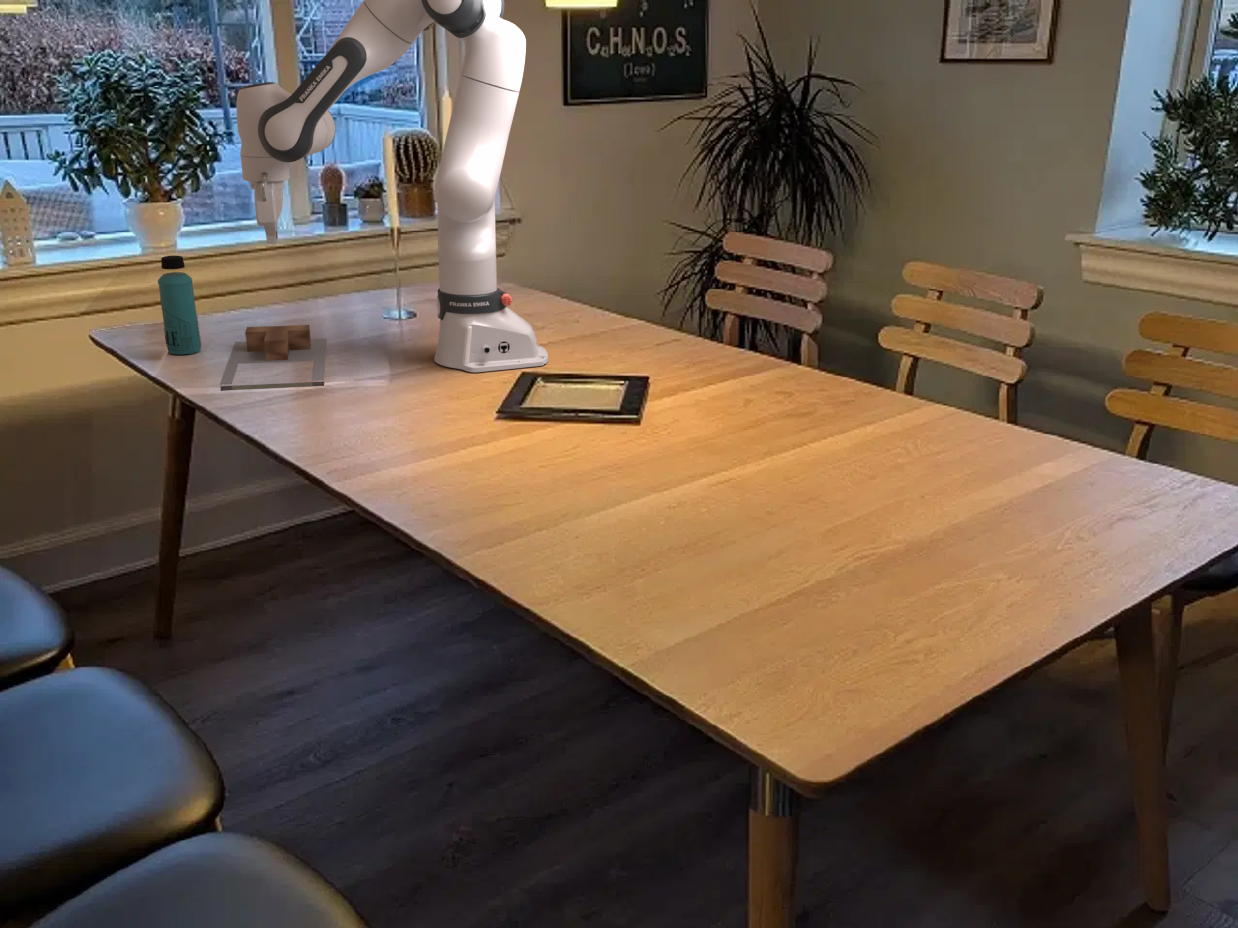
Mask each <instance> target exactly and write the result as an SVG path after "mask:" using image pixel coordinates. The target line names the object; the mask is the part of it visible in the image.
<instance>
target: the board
mask: <svg viewBox="0 0 1238 928" xmlns="http://www.w3.org/2000/svg"><path fill="white" fill-rule="evenodd" d="M326 353H327V338H311V349H309V350H290V351H289V356H288V360H277V361H266V355H265V351H258V352H247V343H246V340H244V341H235V342H234V344H233V347H232V350H231V354H230V355H229V358H228V360H227V361H228V362H227V364H226V366H225V369H224V372H223V376H222V378H221V381H220V384H219V385H220V386H219V387H220V391H221V392H222V391H225V392H226V391H240V390H241V391H243V390H245V391H246V390H264V389H267V390H269V389H286V388H309V387H311V388H313V387H325V381H324V379H325V378H324V377H325V364H326V356H327V355H326ZM312 361H313V369H312V371H313V372H312V379H311V380H312V381H307V382H305V381H304V382H288V383H287V382H286V383H284V382H283V383H264V384H263V383H262V384H261V383H260V384H240V385H237V384H236V385H232V384H233V382H234V378H235V375H236V372H237V369H238V366H239V364H243V365H244V364H263V363H265V364H266V363H267V364H268V363H286V362H287V363H288V362H289V363H290V362H312Z"/></svg>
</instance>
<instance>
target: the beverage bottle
mask: <svg viewBox="0 0 1238 928" xmlns="http://www.w3.org/2000/svg"><path fill="white" fill-rule="evenodd" d="M185 267H186V266H185V261H184V257H183V256H181V255H166V256H162V257H161V269H163V270H180V269H184V268H185ZM157 284H158V288H159V289H158V290H159V296H160V297H159V299H160V301H159V302H160V308H161V312H162V317H163V318H162V319H163V333H164V340H165V344H166V349H167V352H168V353H169V354H172V355H190V354H195V353H198V352H200V351H201V350H202V349H201V348H202V340H201V334H200V333H201V331H200V326H199V319H198V311H197V308H196V302H195V301H196V300H195V292H194V285H193V278H192V277H191V275H188V273H186V272H184V271H183V272H179V271H171V272H166V273H163V274H162V275H161V276H160V277H159V278H158V279H157Z"/></svg>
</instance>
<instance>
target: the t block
mask: <svg viewBox="0 0 1238 928" xmlns="http://www.w3.org/2000/svg"><path fill="white" fill-rule="evenodd" d="M311 339H312V337H311V329H310V324H299V325H298V324H294V325H291V324H290V325H272V326H271V325H270V326H269V325H267V326H266V325H265V326H247V327H246V329H245V341H246V343H247V352H258V351H265V355H266V361H277V360H288V356H289V351H290V350H309V349H311Z"/></svg>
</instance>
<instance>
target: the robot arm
mask: <svg viewBox="0 0 1238 928" xmlns="http://www.w3.org/2000/svg"><path fill="white" fill-rule="evenodd" d="M504 14H505V0H363V1H362V2H361V4H360V5H359V7H357V9H356V11H355V12H354V13H353V15H352V16H351V18H350V20H349V21H348V23H347V24H346V25H345V27H344V28H343V30H342V32H341V33H340V34H339V36H338V38H337V39H335V41H334V43H333V44H332V46H331V48H329V50H328V52H327V53H326V54H325V55H324V56H323V58H321V60H320V61H319V62H318V63H317V65H315V67H314V68H313V69H312V70H311V72H310V73H308V75H307V76H306V77H305V78H304V80H303V81H302V82H301V83H300V84H299V86H298V87H297V88H296V89H295V90H294V91H293V92H292V93H290V92H289V91H287V90H286V89H284V88H283V87H281V85H280V84H278V83H276V82H273V81H267V82H266V81H265V82H260V83H259V82H258V83H253V84H248V85H244V86H243V87H241V88H240V89H239V90H238V93H237V97H236V125H237V133H238V136H239V138H240V145H241V146H240V152H239V153H240V164H241V172H242V173H241V175H242V180H243V181H246V182H249V187H250V189H252V190H254V194H253V195H254V196H253V197H254V207H255V208H254V209H255V218H256V223H257V226H259V227H263V229H264V232H265V237H266V243H267V244H268V245H276V244H277V240H278V238H279V233H278V222H279V219H280V217H281V213H282V210H283V203H284V188H285V183H284V182H285V181H288V180H290V179H291V174H290V164H289V163H294V162H297V161H299V160H301V159H304V157H308V156H311V155H313V154H316V153H320V152H322V151H324V150H325V149H327V148H329V147H330V146H331V145H332V143H333V142H334V139H335V137H336V129H337V128H336V127H337V126H336V123H335V119H334V117H333V115H332V114H331V112H330V109H331V108H332V107H333V106H334V104H335V103H336V102H337V101H338V100H339V99H340V97H341V96H342V95H343V94H344V93H345V91H346V90H348V89H349V88H350V87H351V86H352V85H354V84H355V83H357V82H358V81H361V80H362V79H365V78H367V77H369V76H372V75H374V74H377V73H379V72H381V71H385V70H386V69H388V68H389V67H391V66H392V65H393V64H395V62H397V61H398V60H399V59H400V58H401V57H402V56H403V55H404V54H405V53H406V52H407V51H408V50H409V49H410V47H411V46H412V45H413V44H414V43H415V41H416V40H417V38H418V37H419V36H420V35H421V33H423V31H424V30H425V29H426V28H427V27H428V26H430V25H431V24H433V23H436V24H437V25H438V26H439V27H442V29H444V30H446V31H448V32H449V33H450V34H452V35H453V36H454V37H456V38H458V39H462V40H463V43H464V58H463V63H462V67H461V71H460V75H459V80H458V84H457V88H456V93H455V97H454V102H453V106H452V110H451V114H450V119H449V124H448V128H447V131H446V135H445V136H446V137H445V141H444V145H443V150H442V153H441V158H440V160H439V161H440V162H439V166H438V171H437V174H436V180H435V183H434V198H435V202H436V204H437V240H438V242H437V254H438V256H437V257H438V276H439V278H438V279H439V288H438V289H437V296H436V299H437V301H436V302H437V305H436V306H437V315H438V318H439V327H438V328H439V330H438V338H437V345H436V350H435V354H434V358H433V360H434V362H435V363H437V364H438V365H439V366H443V367H447V368H452V369H458V370H463V371H466V372H468V373H482V372H483V373H484V372H495V371H503V370H512V369H513V370H514V369H523V368H533V367H540V366H541V367H542V366H545V365H546V364H547V363H548V362H549V354H548V352H547V350H546V349H545V348H544V347H543V346H541V345H539V344H538V342H537V337H536V333H535V330H534V328H533V327H532V326H531V324H530V323H529V322H528V321H526V320H525V319H524V318H523V317H521V316H520V315H518V314H517V313H516V312H515V311H513V310H512V309H511V308H509V307H508V306H510V305H511V304H513V299H512V297H511V295H510V294H508V293H507V292H506V291H505V290H503V289H502V288H501V289H500V288H499V287H498V279H497V278H498V277H497V276H498V275H497V271H498V270H497V240H496V239H497V235H496V206H495V205H496V195H497V191H498V186H499V181H500V177H501V173H502V168H503V164H504V159H505V154H506V151H507V145H508V141H509V136H510V132H511V128H512V123H513V120H514V117H515V111H516V107H517V103H518V100H519V95H520V91H521V86H522V83H523V76H524V71H525V62H526V49H527V40H526V36H525V34H524V33H523V31H522V29H520V28H519V27H518V26H517V25H516V24H514V23H513V22H510V21H509V20H506V19H504V18H503V17H504ZM544 364H545V365H544Z"/></svg>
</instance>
